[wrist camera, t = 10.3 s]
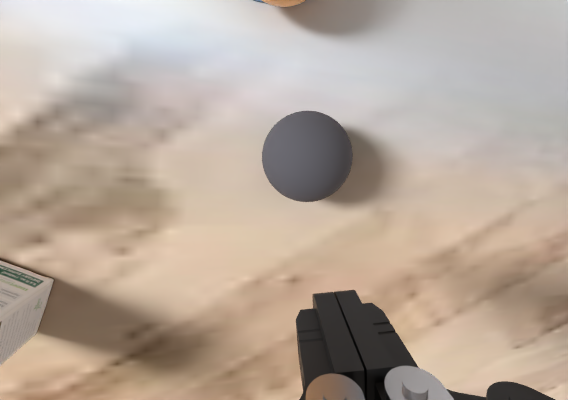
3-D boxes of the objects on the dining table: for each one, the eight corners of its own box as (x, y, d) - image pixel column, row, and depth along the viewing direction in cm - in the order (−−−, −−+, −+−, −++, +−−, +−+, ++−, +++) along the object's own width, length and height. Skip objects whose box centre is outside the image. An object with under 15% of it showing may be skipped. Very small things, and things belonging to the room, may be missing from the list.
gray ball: (263, 221, 19) (257, 168, 23) (351, 219, 20) (329, 168, 24) (270, 138, 15) (261, 94, 19) (378, 141, 16) (346, 98, 20)
